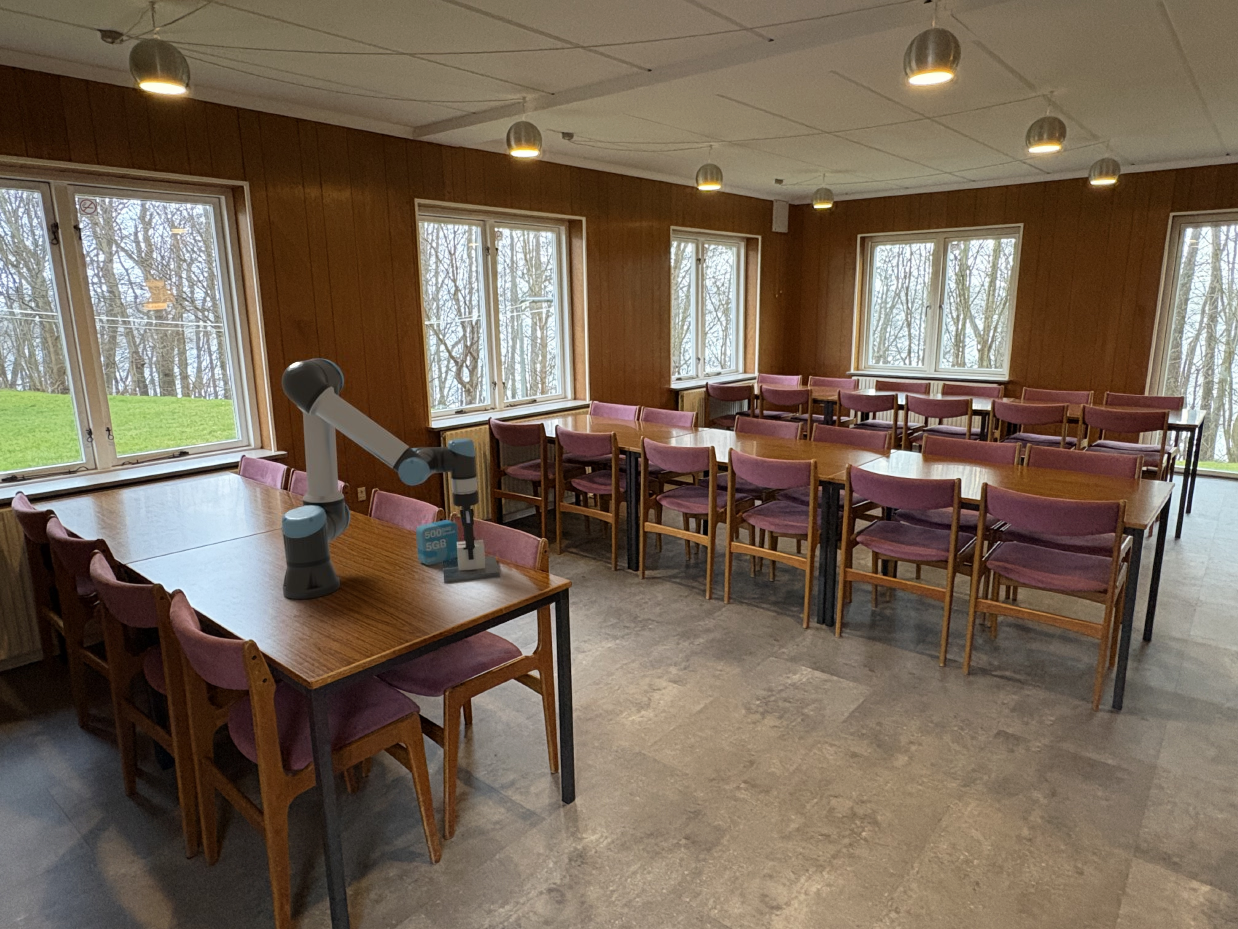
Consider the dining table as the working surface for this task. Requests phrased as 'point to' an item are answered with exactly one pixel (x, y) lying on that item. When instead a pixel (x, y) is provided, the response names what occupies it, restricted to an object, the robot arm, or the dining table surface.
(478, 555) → the white box
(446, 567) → the plate
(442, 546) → the data package
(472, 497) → the robot arm
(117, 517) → the dining table surface
